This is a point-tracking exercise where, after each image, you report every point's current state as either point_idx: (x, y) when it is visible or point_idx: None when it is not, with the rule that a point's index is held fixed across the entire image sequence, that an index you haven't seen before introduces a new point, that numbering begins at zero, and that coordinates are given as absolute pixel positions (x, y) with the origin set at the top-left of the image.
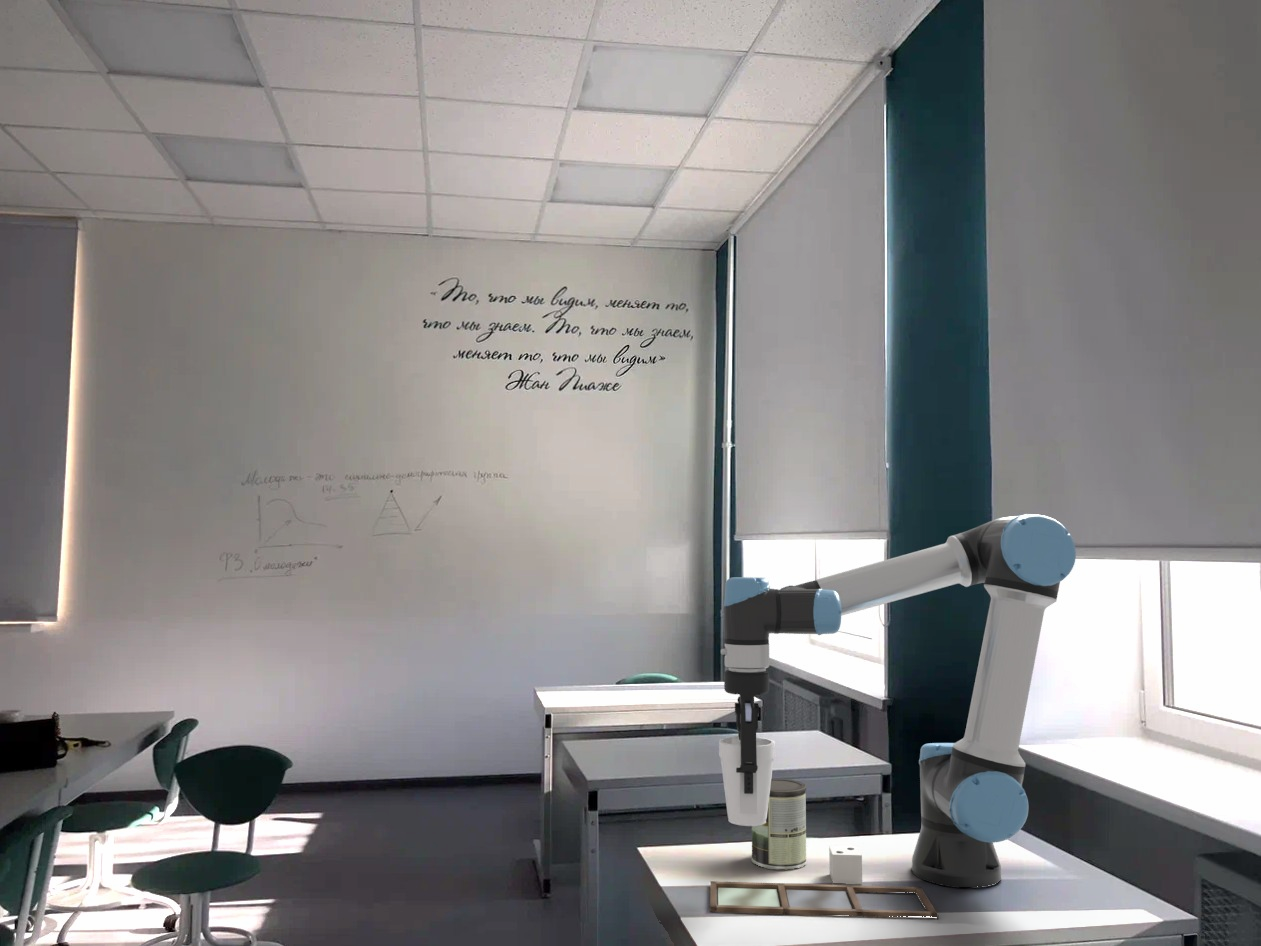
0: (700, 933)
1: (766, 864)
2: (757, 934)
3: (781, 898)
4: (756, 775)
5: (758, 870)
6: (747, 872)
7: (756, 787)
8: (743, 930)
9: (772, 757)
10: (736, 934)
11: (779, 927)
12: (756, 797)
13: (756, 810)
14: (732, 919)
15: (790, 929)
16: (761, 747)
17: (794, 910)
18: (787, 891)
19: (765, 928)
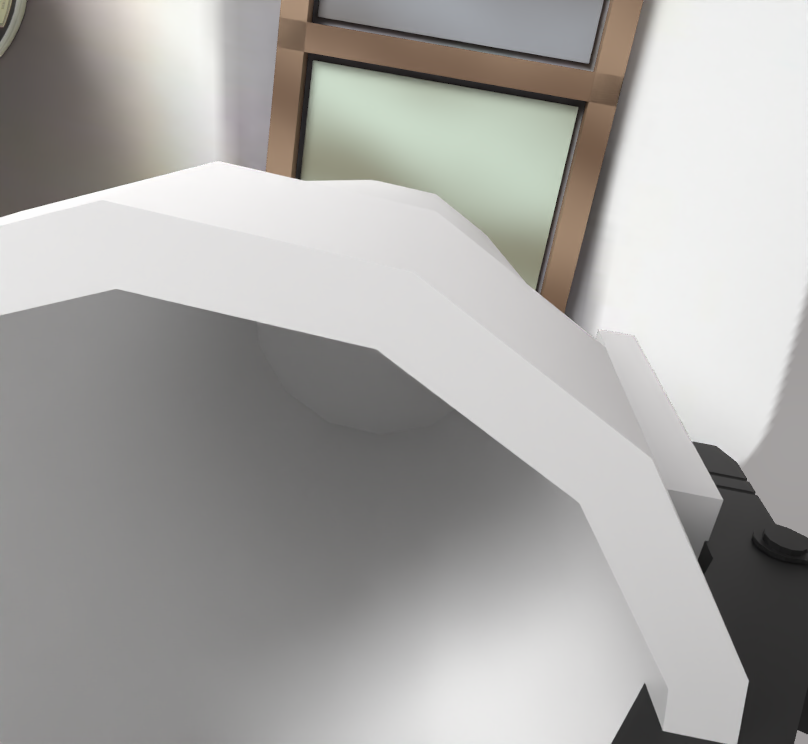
0: (741, 457)
1: (2, 36)
2: (804, 264)
3: (482, 80)
4: (709, 483)
5: (42, 83)
6: (75, 142)
7: (679, 424)
8: (750, 307)
9: (518, 282)
10: (783, 340)
11: (753, 158)
12: (656, 385)
13: (637, 347)
14: (629, 323)
15: (787, 116)
16: (717, 621)
17: (628, 53)
18: (346, 14)
19: (750, 218)
